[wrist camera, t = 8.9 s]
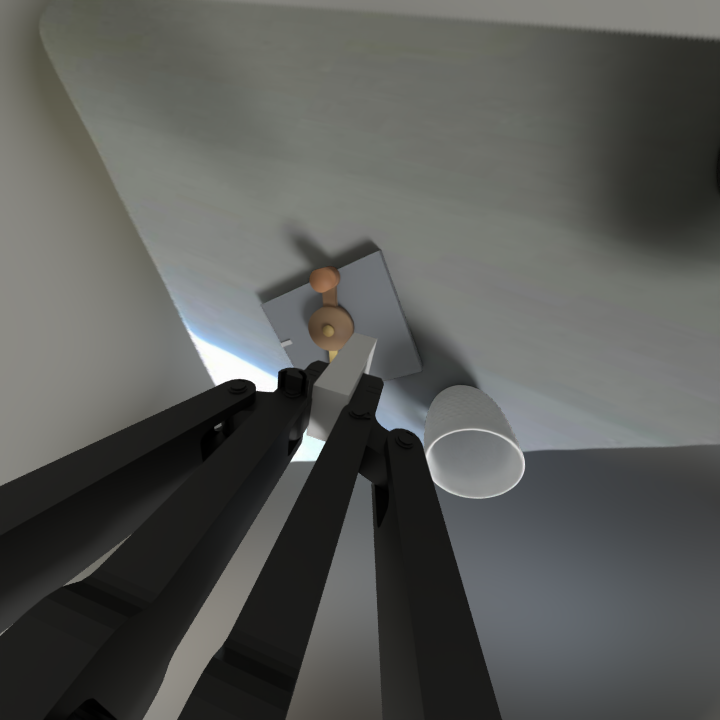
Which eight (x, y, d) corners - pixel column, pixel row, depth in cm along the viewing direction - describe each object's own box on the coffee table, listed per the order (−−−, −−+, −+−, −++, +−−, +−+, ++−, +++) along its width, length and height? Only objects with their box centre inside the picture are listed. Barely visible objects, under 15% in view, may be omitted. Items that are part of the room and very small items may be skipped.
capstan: (308, 266, 35) (294, 268, 31) (352, 266, 34) (344, 269, 30) (318, 376, 42) (308, 388, 39) (355, 379, 41) (349, 392, 37)
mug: (480, 452, 44) (500, 528, 32) (416, 440, 46) (413, 506, 35) (506, 378, 38) (541, 438, 26) (429, 367, 40) (431, 419, 28)
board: (381, 250, 34) (378, 250, 32) (422, 366, 40) (422, 372, 38) (267, 302, 41) (259, 305, 39) (316, 394, 47) (311, 401, 45)
